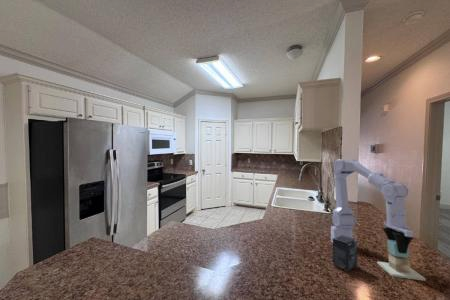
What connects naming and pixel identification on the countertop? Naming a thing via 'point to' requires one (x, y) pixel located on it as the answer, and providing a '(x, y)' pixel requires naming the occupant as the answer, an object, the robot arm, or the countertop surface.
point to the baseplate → (401, 274)
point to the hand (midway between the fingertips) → (398, 250)
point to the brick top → (395, 249)
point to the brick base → (399, 263)
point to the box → (344, 252)
